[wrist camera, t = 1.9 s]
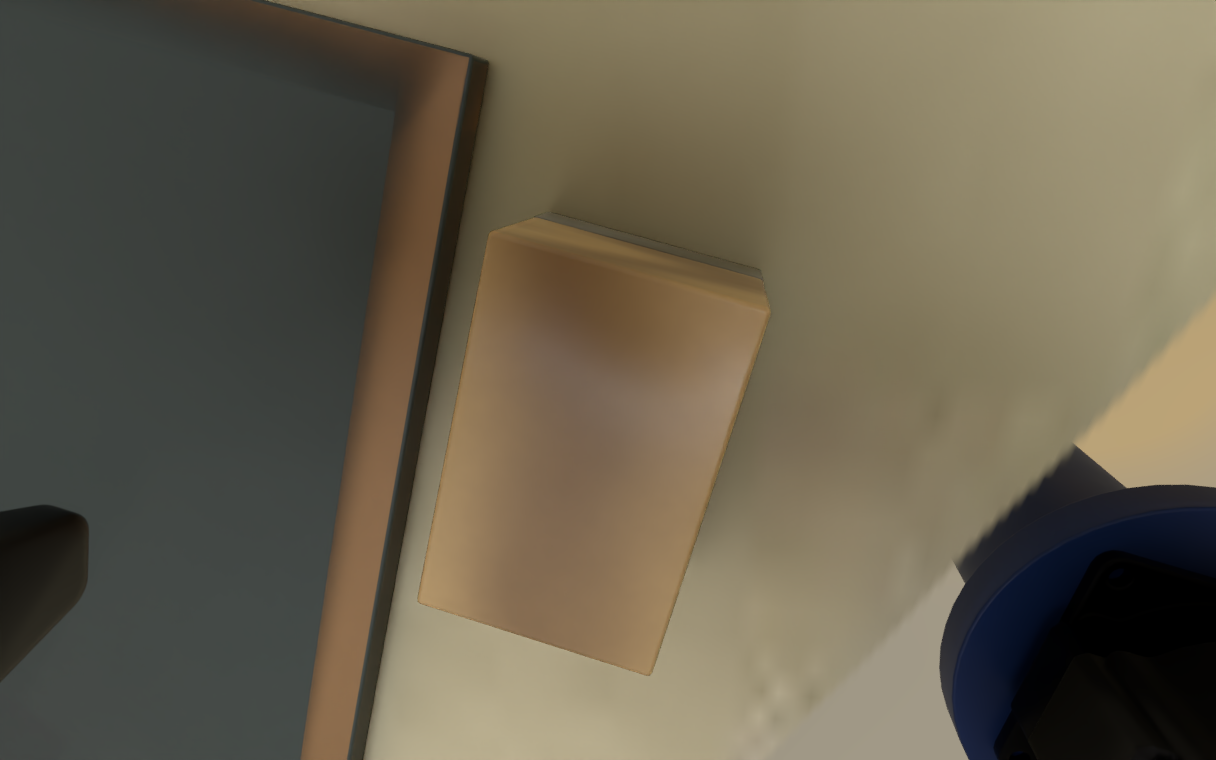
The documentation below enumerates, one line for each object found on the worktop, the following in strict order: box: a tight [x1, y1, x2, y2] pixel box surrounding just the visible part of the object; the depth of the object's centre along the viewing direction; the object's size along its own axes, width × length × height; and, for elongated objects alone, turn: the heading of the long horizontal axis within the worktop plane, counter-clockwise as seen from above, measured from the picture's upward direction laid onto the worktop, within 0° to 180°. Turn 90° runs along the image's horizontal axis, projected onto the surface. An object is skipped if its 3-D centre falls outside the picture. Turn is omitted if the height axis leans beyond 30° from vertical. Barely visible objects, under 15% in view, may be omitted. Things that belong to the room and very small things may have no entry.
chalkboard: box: [0, 0, 489, 760], centre depth 18 cm, size 16×24×1 cm, turn 166°
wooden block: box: [418, 212, 771, 676], centre depth 14 cm, size 4×7×4 cm, turn 166°
